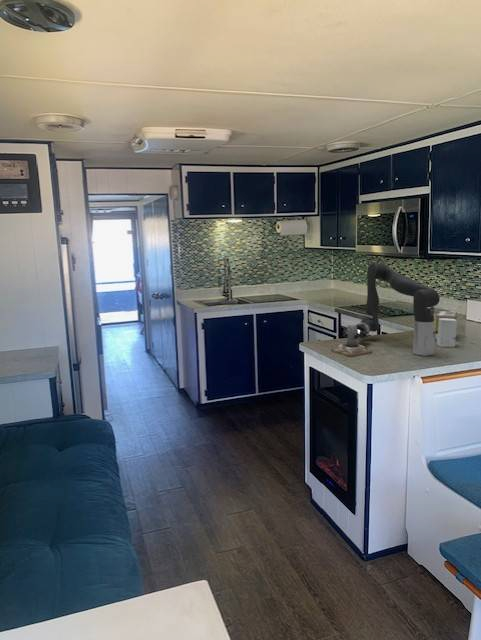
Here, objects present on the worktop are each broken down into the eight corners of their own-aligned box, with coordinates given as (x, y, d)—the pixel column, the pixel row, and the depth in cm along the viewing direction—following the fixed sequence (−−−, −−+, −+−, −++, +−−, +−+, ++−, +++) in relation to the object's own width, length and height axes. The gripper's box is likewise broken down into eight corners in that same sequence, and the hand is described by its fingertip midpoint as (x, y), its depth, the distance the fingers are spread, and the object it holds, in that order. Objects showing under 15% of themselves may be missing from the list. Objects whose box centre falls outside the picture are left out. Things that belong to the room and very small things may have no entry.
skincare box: (439, 346, 258) (441, 320, 255) (436, 344, 264) (438, 317, 261) (455, 347, 257) (457, 320, 254) (452, 344, 263) (454, 318, 260)
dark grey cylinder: (358, 348, 250) (358, 326, 247) (351, 350, 247) (351, 327, 245) (351, 346, 254) (352, 324, 252) (344, 348, 252) (345, 326, 249)
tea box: (438, 334, 288) (440, 310, 285) (456, 336, 283) (458, 311, 280) (434, 339, 275) (436, 314, 272) (453, 341, 270) (455, 315, 267)
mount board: (372, 353, 248) (372, 346, 247) (350, 357, 241) (350, 350, 240) (352, 347, 261) (353, 341, 260) (331, 350, 254) (331, 344, 253)
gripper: (348, 322, 264) (337, 328, 250) (373, 324, 257) (363, 330, 243) (347, 335, 266) (336, 342, 252) (373, 338, 258) (363, 345, 244)
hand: (350, 336), depth 247 cm, fingers closed on dark grey cylinder, 5 cm apart
